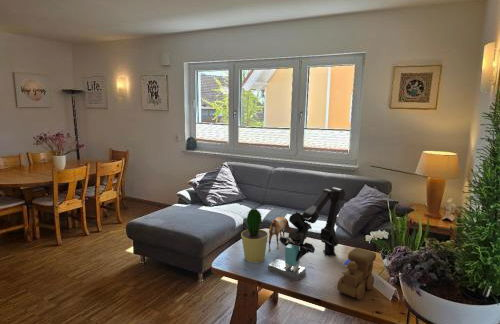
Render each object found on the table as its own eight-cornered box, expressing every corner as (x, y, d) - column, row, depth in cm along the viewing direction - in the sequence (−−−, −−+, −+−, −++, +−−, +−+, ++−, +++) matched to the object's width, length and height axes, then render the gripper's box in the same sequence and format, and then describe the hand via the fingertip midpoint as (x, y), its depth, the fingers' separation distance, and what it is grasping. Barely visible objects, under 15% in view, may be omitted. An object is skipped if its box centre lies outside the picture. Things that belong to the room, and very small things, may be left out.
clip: (289, 267, 167) (289, 244, 165) (299, 270, 163) (299, 246, 161) (285, 270, 164) (285, 246, 162) (295, 273, 160) (295, 249, 158)
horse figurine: (274, 256, 183) (274, 222, 180) (262, 253, 187) (262, 220, 183) (293, 237, 210) (293, 207, 207) (282, 235, 214) (282, 206, 211)
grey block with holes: (277, 263, 175) (277, 258, 174) (305, 273, 164) (305, 267, 164) (268, 270, 168) (268, 264, 167) (297, 280, 157) (297, 275, 157)
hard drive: (350, 255, 181) (342, 263, 171) (365, 259, 176) (358, 268, 167) (350, 257, 181) (342, 266, 172) (365, 261, 177) (357, 270, 167)
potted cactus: (257, 267, 171) (257, 214, 166) (236, 259, 180) (234, 209, 175) (273, 256, 183) (273, 207, 178) (252, 249, 192) (251, 202, 187)
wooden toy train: (354, 277, 160) (355, 246, 157) (376, 285, 152) (378, 253, 149) (334, 294, 145) (335, 260, 143) (358, 304, 138) (360, 268, 135)
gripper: (281, 221, 169) (269, 248, 162) (312, 229, 157) (301, 258, 150) (288, 231, 176) (277, 256, 169) (319, 239, 165) (309, 267, 158)
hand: (290, 259), depth 161 cm, fingers closed on clip, 6 cm apart
